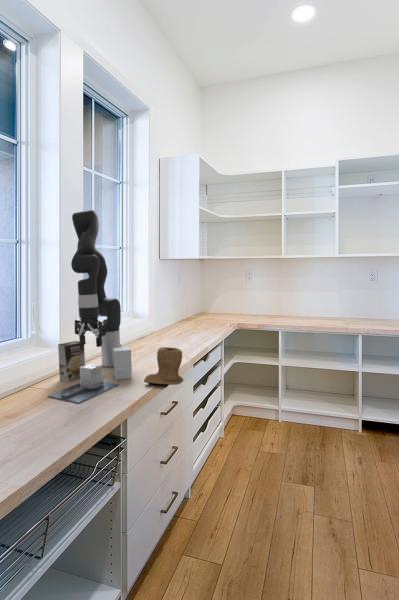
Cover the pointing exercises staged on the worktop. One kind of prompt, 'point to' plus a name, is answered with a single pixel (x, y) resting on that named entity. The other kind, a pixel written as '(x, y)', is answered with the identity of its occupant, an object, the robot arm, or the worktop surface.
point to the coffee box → (70, 360)
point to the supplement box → (122, 363)
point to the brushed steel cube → (91, 374)
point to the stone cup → (167, 367)
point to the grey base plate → (82, 392)
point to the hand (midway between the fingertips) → (90, 345)
